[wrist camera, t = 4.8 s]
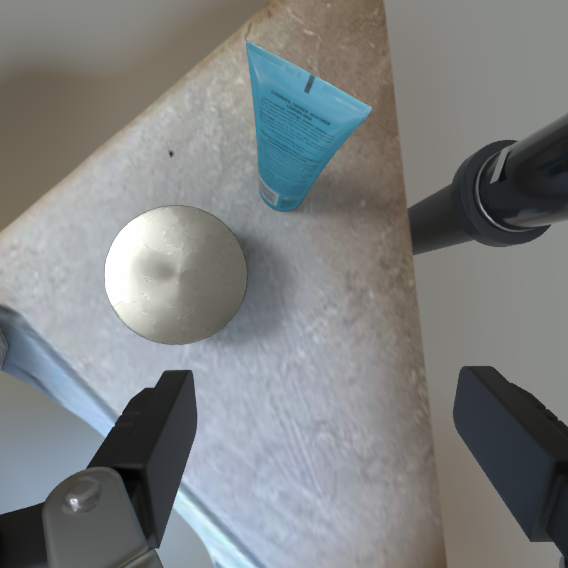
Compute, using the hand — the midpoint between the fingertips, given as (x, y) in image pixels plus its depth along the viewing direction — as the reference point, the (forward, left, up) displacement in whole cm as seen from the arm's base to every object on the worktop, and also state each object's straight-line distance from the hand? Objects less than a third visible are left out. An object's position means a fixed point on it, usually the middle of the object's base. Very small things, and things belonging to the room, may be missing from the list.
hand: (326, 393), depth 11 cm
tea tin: (+8, -5, -27) cm, 28 cm away
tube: (-2, -14, -27) cm, 31 cm away
